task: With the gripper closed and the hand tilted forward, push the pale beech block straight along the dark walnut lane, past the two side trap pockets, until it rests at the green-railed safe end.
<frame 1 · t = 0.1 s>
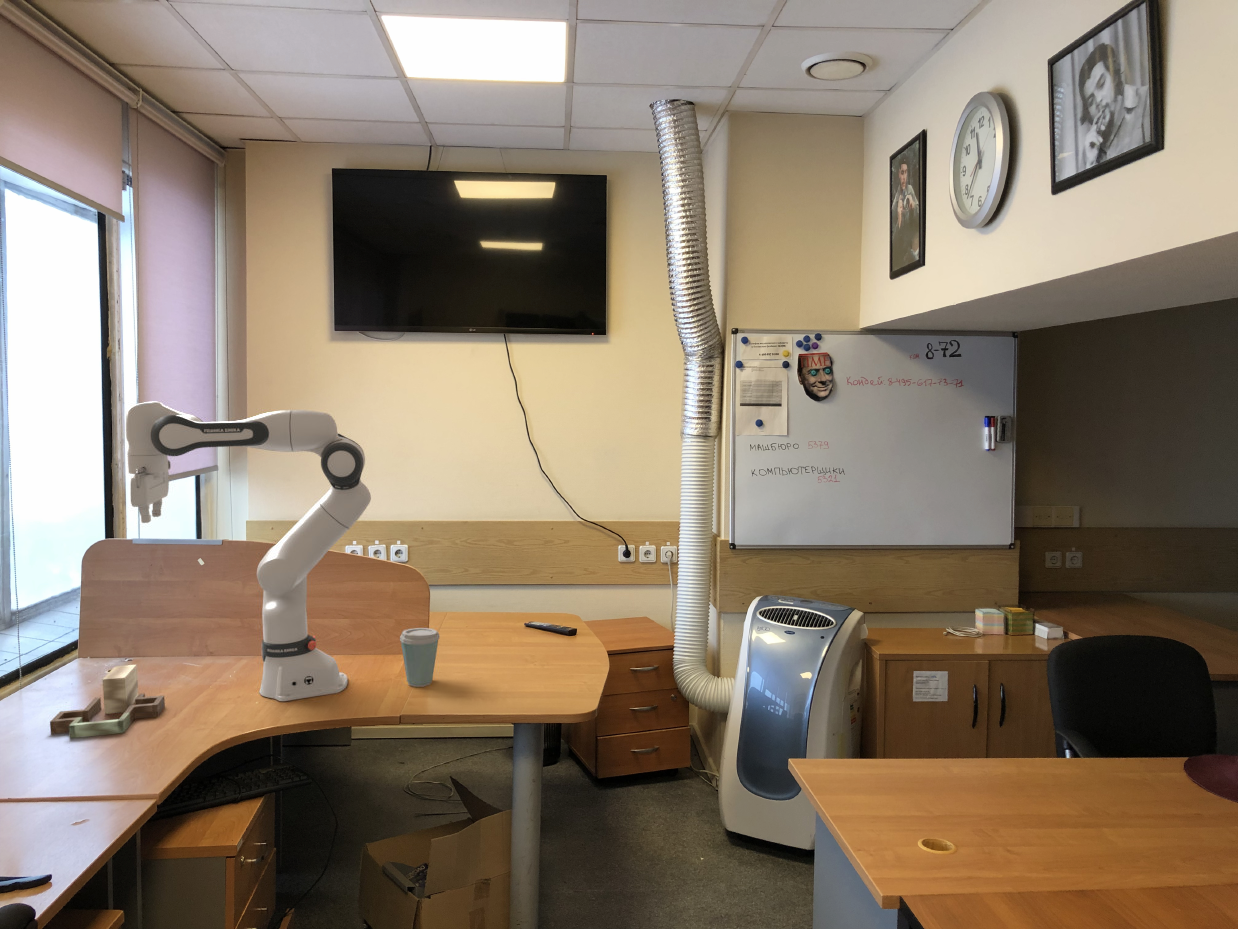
hand: (151, 519, 216), 48 cm above the table, tool pointing down, fingers open, 8 cm apart
disposable coffee cup: (421, 683, 233), on the table
beech block: (122, 705, 217), on the table
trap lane: (109, 720, 208), on the table
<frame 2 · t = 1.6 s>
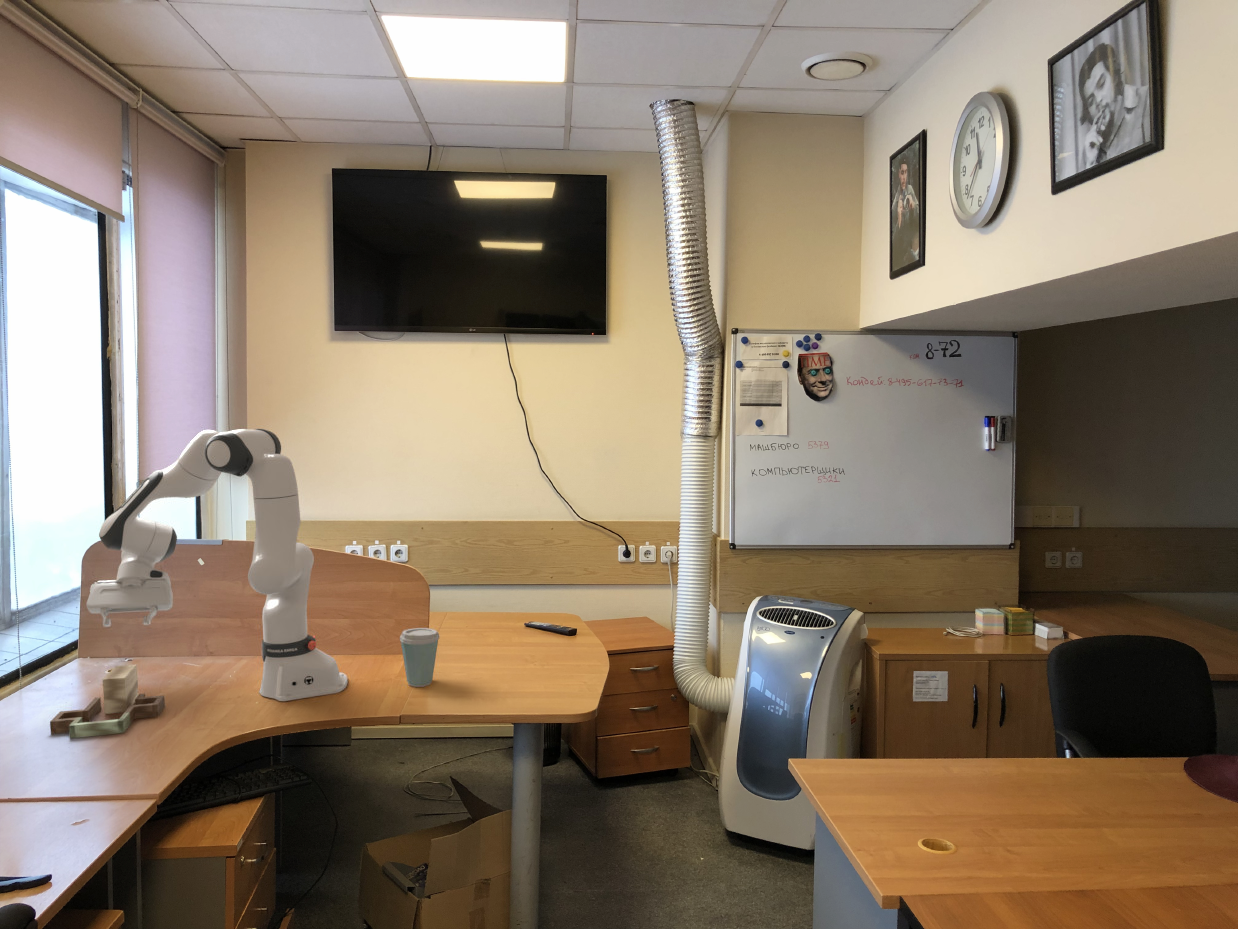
hand: (126, 624, 224), 19 cm above the table, tool tilted 45°, fingers open, 8 cm apart
nothing on the table moved.
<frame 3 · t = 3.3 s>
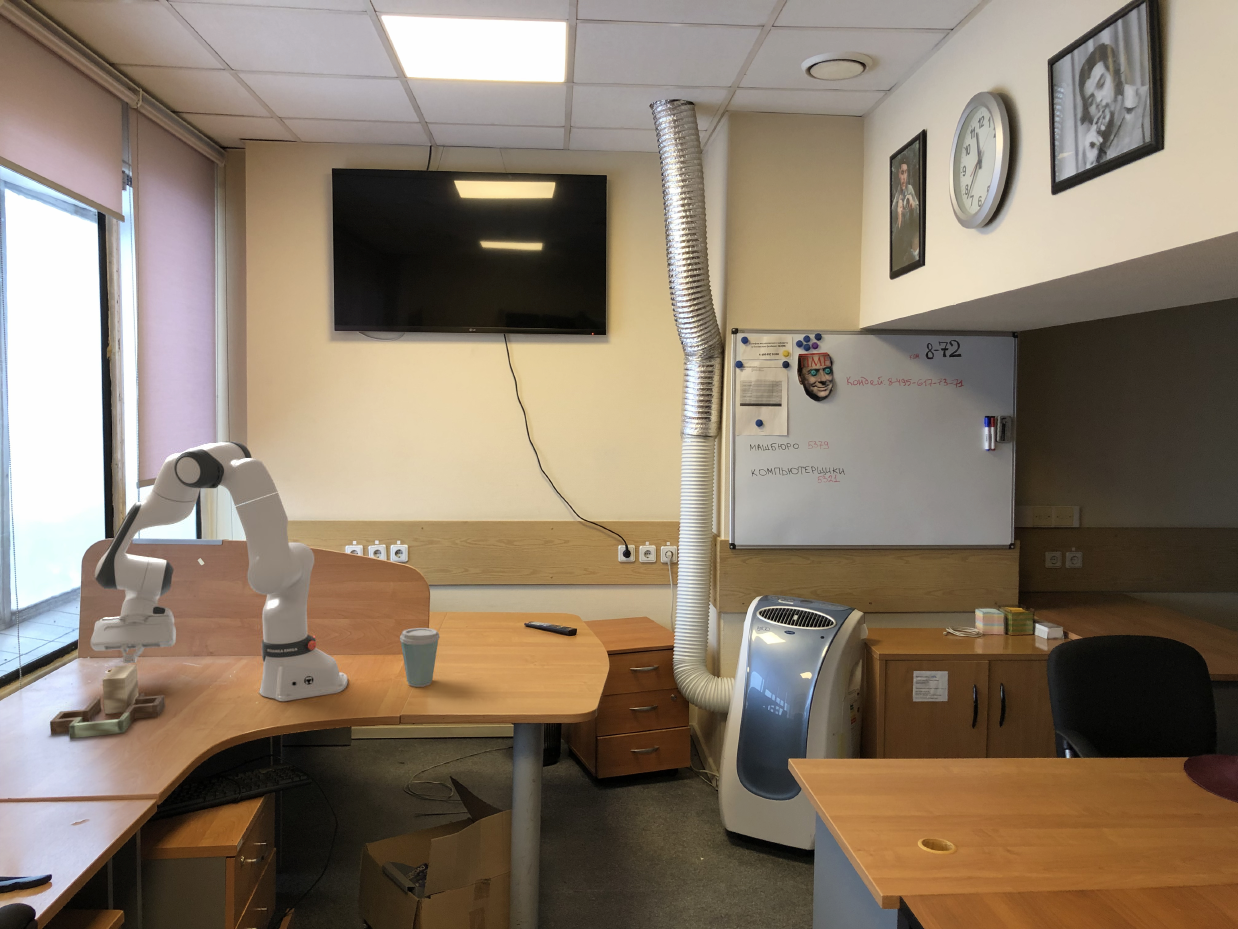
hand: (129, 662, 226), 8 cm above the table, tool tilted 45°, fingers closed
nothing on the table moved.
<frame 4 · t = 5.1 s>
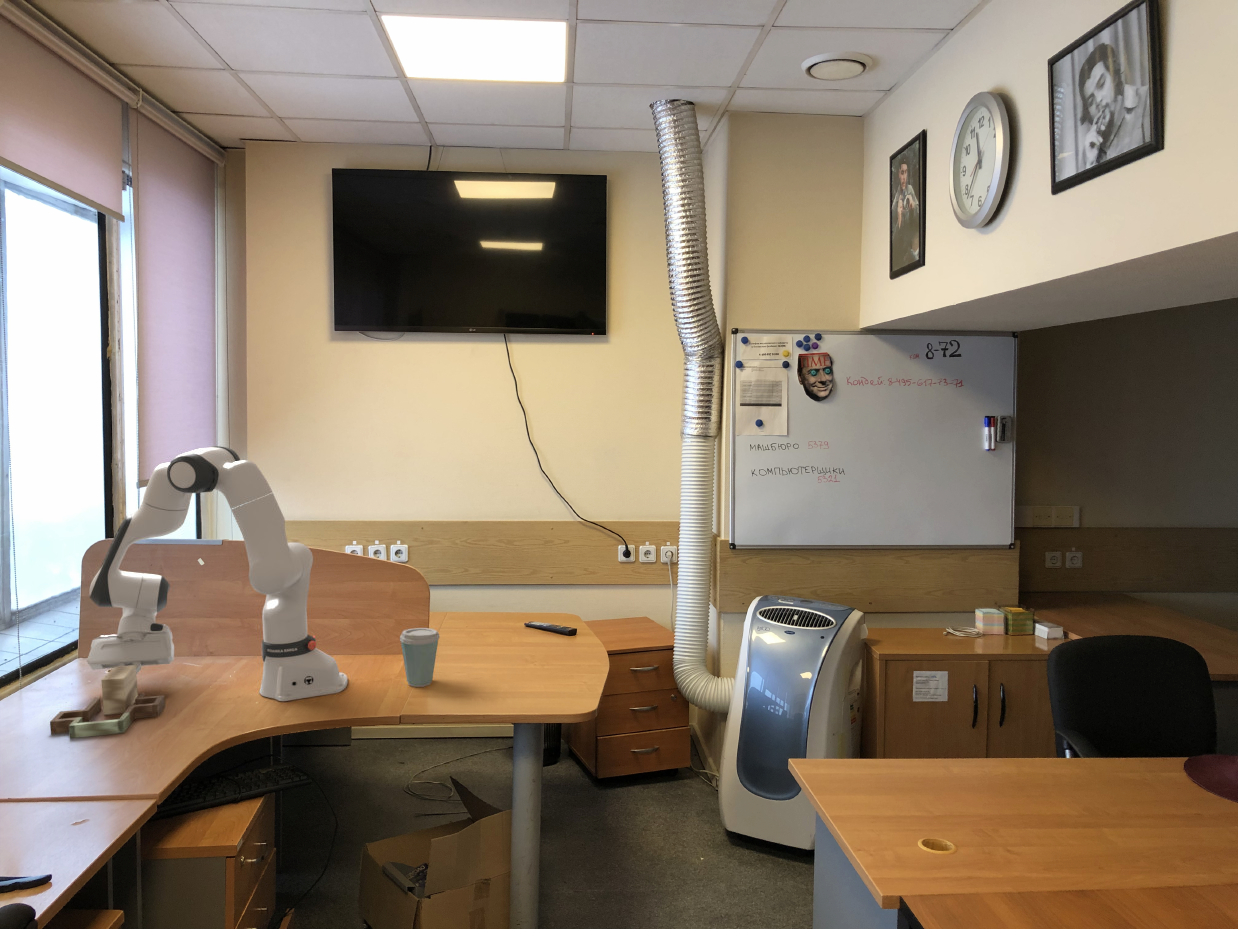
hand: (127, 680, 222), 5 cm above the table, tool tilted 45°, fingers closed, pressing on beech block
beech block: (121, 706, 217), on the table, touching gripper
everything else where it was.
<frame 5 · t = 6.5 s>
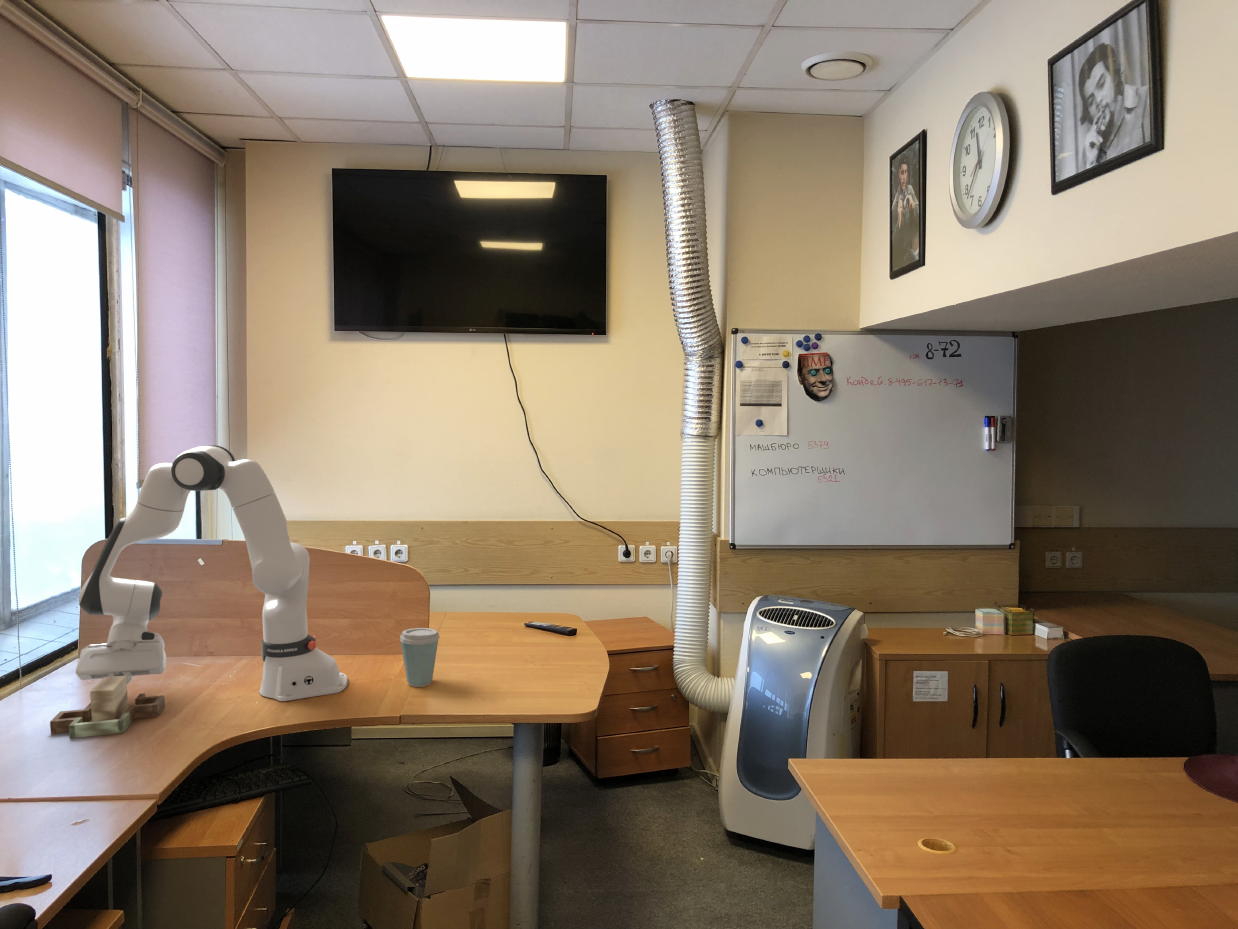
hand: (117, 691, 214), 5 cm above the table, tool tilted 45°, fingers closed, pressing on beech block
beech block: (110, 718, 209), resting in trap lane, touching gripper
everything else where it was.
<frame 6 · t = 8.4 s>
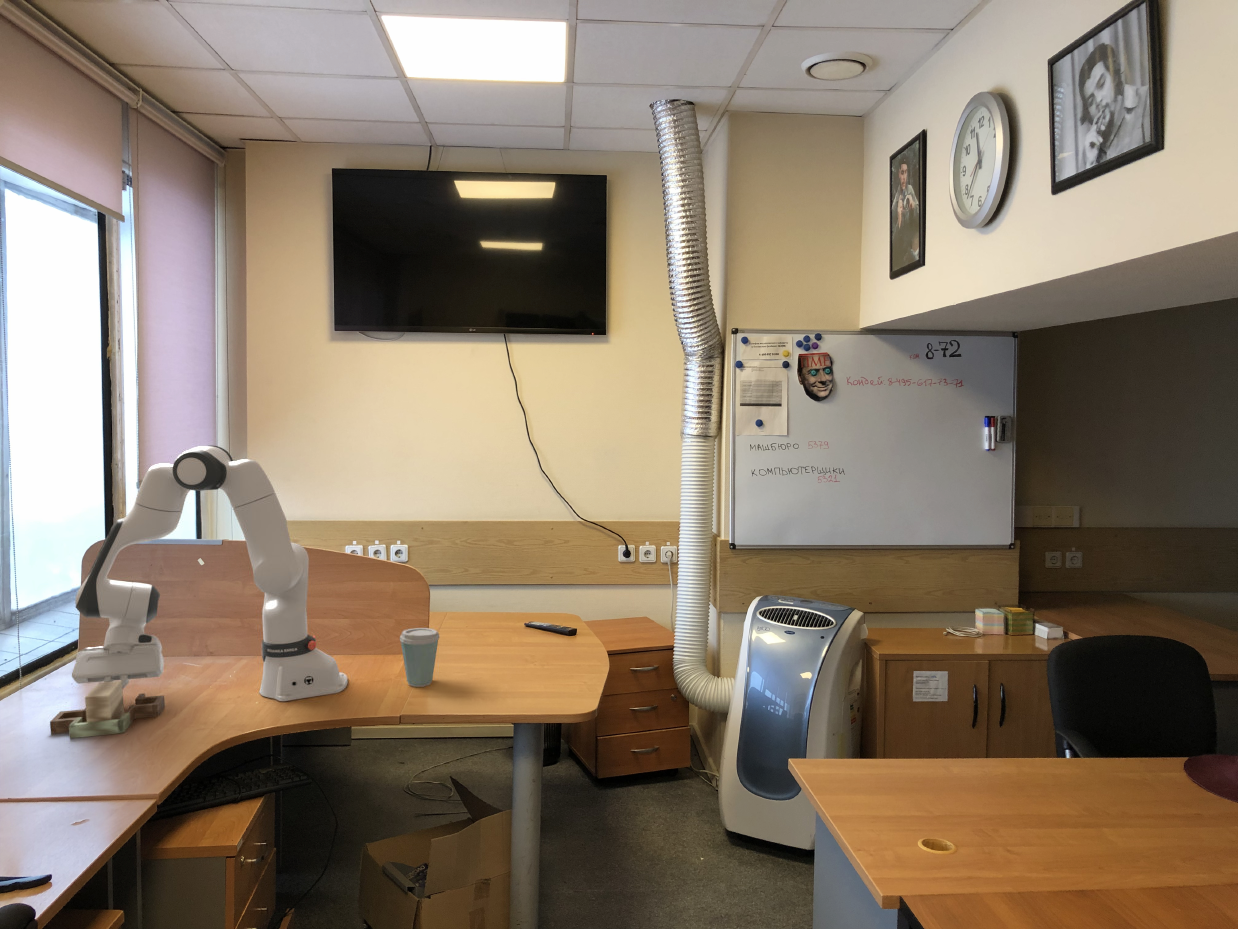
hand: (113, 695, 211), 5 cm above the table, tool tilted 45°, fingers closed
beech block: (106, 724, 206), resting in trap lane
everything else where it was.
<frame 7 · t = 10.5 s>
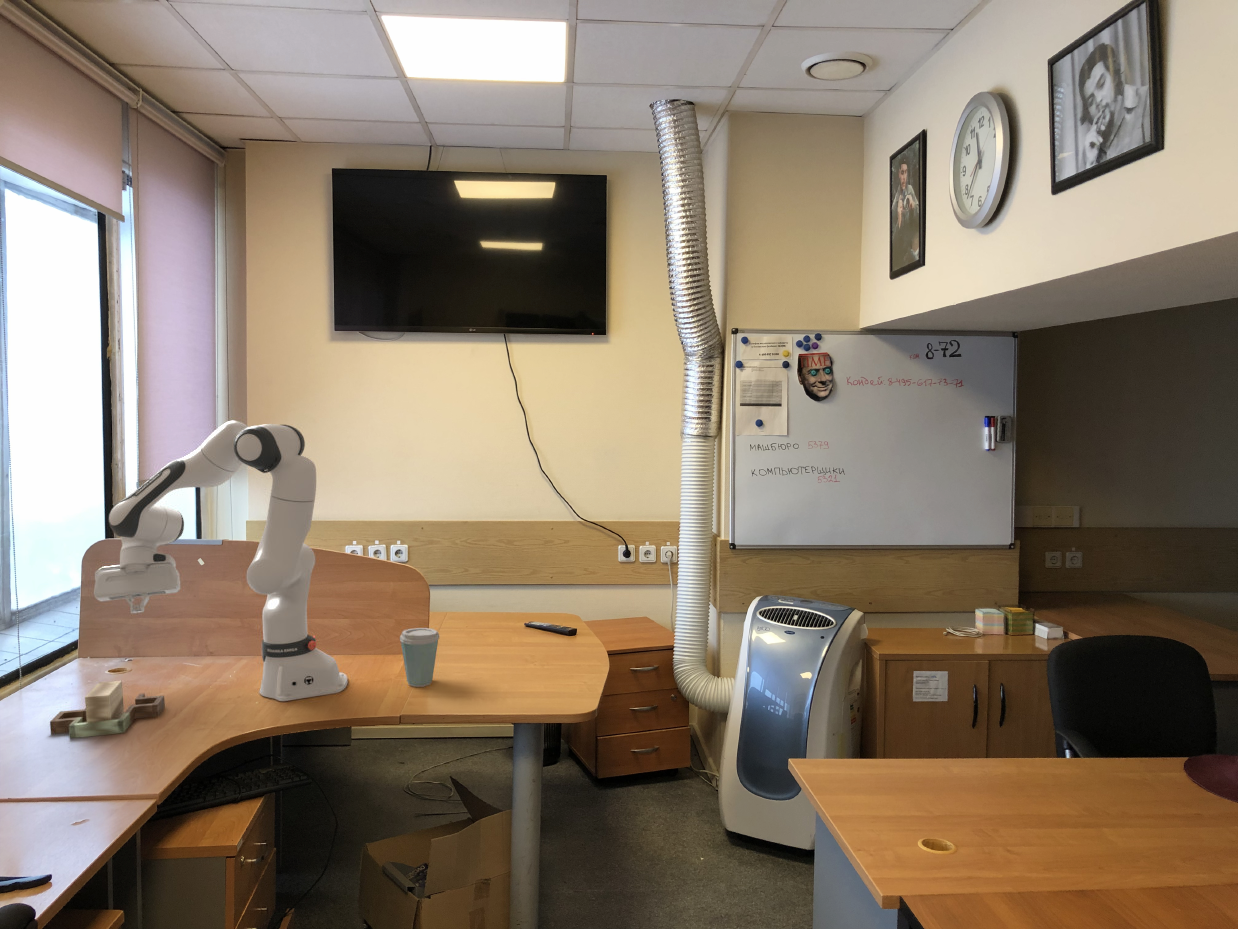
hand: (137, 612, 223), 22 cm above the table, tool tilted 30°, fingers closed
nothing on the table moved.
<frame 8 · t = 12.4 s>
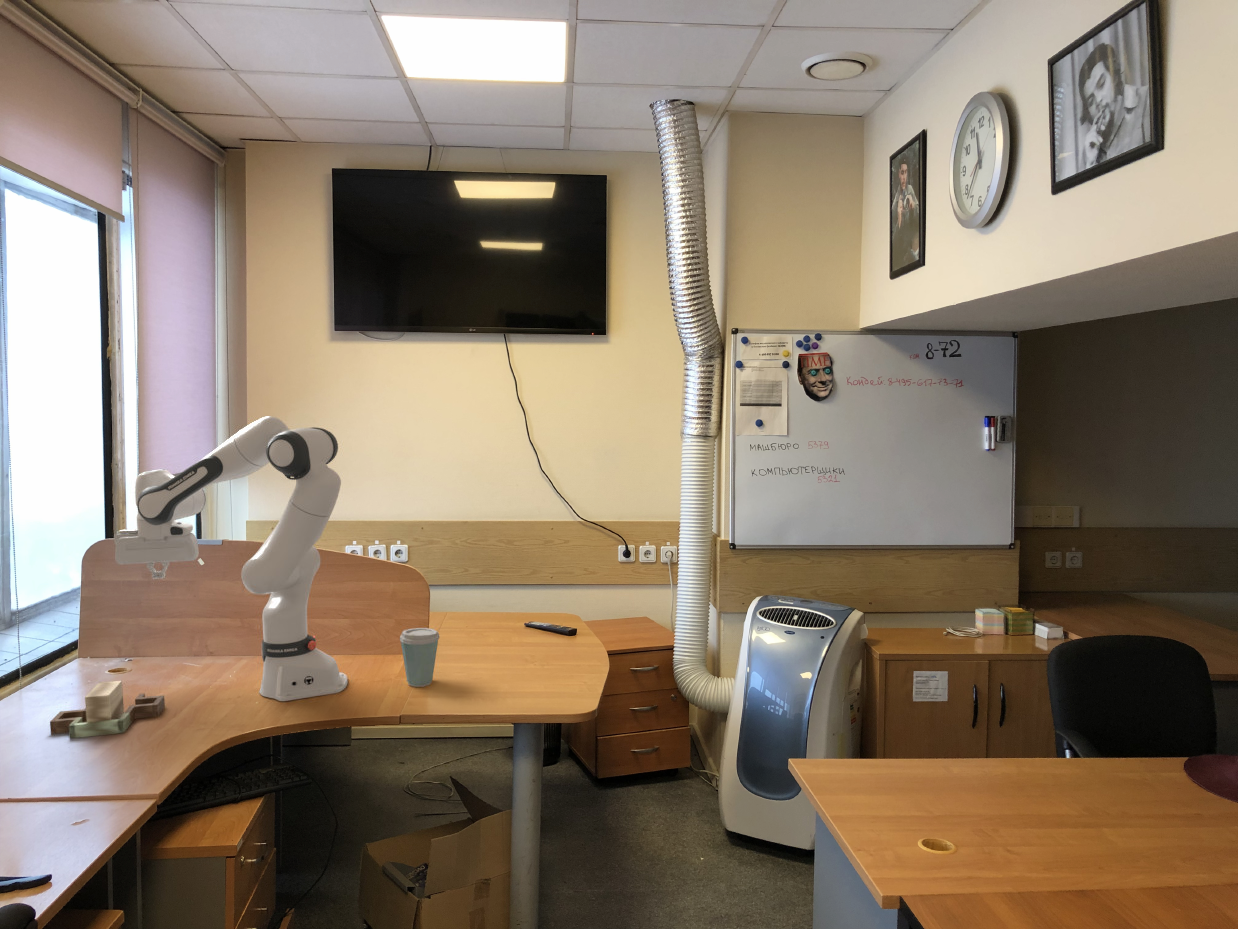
hand: (158, 578, 232), 29 cm above the table, tool pointing down, fingers closed
nothing on the table moved.
at the end: beech block 1.5 cm off-centre on the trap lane, point 0.0 cm above the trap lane's base; beech block tilted 0° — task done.
